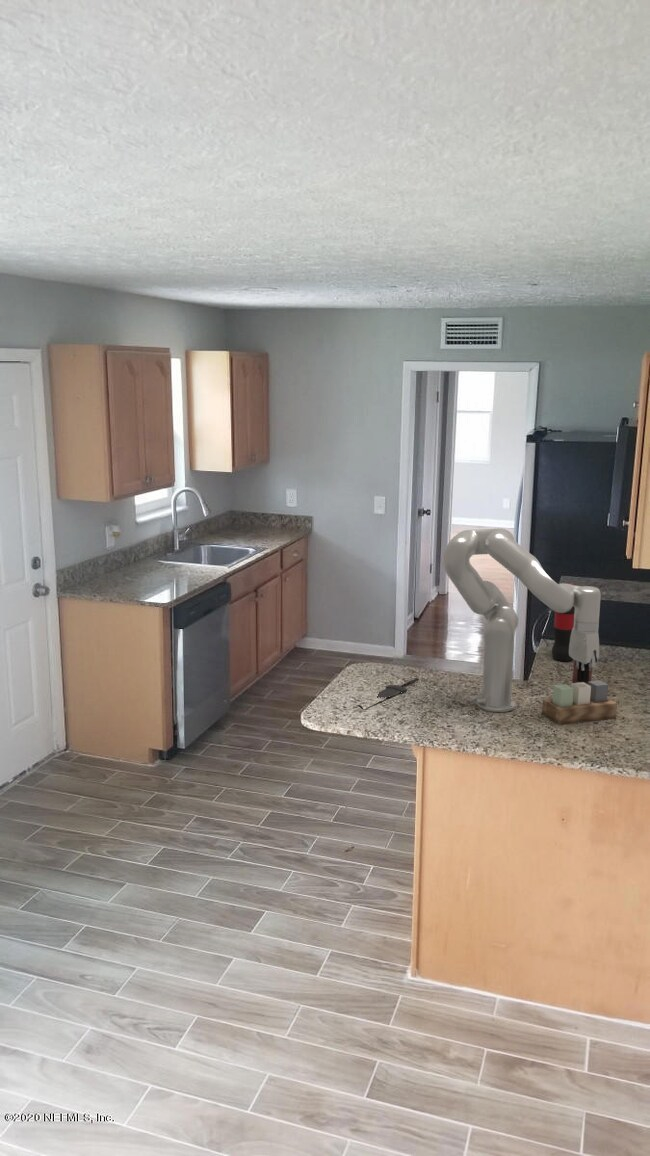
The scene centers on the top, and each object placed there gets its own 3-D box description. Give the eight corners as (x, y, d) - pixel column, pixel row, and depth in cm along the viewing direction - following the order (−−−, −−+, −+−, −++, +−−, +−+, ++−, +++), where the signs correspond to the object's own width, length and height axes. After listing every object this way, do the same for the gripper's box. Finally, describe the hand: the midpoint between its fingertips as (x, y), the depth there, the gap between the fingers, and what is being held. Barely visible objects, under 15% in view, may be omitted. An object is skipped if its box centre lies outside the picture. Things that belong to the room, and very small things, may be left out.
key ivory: (577, 708, 279) (579, 687, 278) (569, 704, 283) (571, 683, 282) (589, 707, 281) (591, 686, 279) (581, 702, 285) (582, 682, 283)
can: (591, 699, 298) (594, 660, 295) (571, 698, 299) (575, 658, 296) (589, 693, 304) (592, 654, 301) (570, 692, 305) (573, 653, 302)
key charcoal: (594, 706, 281) (596, 685, 280) (586, 702, 285) (588, 681, 284) (606, 705, 283) (608, 684, 281) (598, 700, 287) (599, 680, 285)
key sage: (560, 710, 277) (561, 689, 276) (552, 706, 281) (553, 685, 280) (572, 709, 279) (573, 688, 277) (564, 704, 283) (565, 684, 281)
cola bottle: (576, 658, 344) (582, 583, 337) (569, 663, 337) (575, 587, 330) (555, 654, 348) (560, 580, 342) (548, 660, 341) (553, 584, 335)
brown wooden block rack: (559, 725, 275) (560, 710, 274) (541, 714, 284) (542, 699, 283) (615, 717, 282) (617, 703, 280) (596, 707, 291) (598, 692, 290)
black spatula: (348, 708, 290) (348, 702, 290) (409, 679, 316) (409, 674, 316) (366, 713, 285) (365, 707, 285) (426, 683, 311) (426, 678, 311)
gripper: (562, 621, 282) (559, 675, 286) (590, 632, 268) (586, 690, 272) (582, 619, 284) (578, 673, 288) (611, 630, 271) (607, 687, 274)
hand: (582, 681), depth 280 cm, fingers closed
